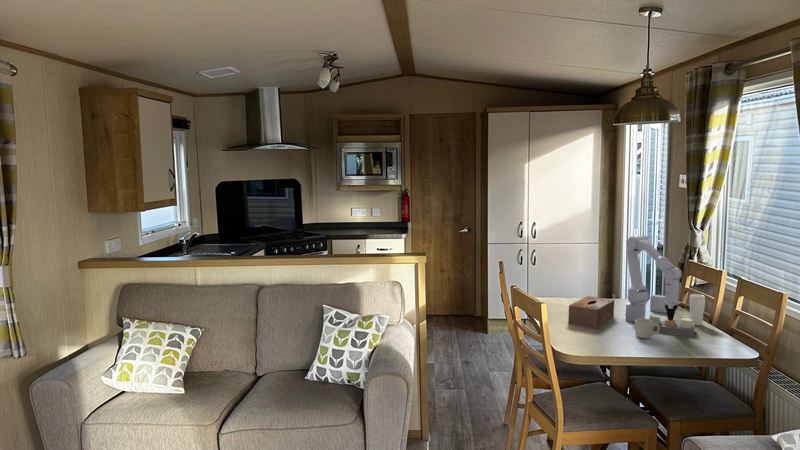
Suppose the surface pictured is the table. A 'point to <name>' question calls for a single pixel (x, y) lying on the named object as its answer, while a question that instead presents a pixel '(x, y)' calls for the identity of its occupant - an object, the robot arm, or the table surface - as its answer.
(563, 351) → the table surface
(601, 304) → the tissue box cover
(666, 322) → the terracotta block
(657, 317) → the sage block
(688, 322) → the white block
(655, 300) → the medicine box
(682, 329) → the grey tray
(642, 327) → the cup
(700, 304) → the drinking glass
